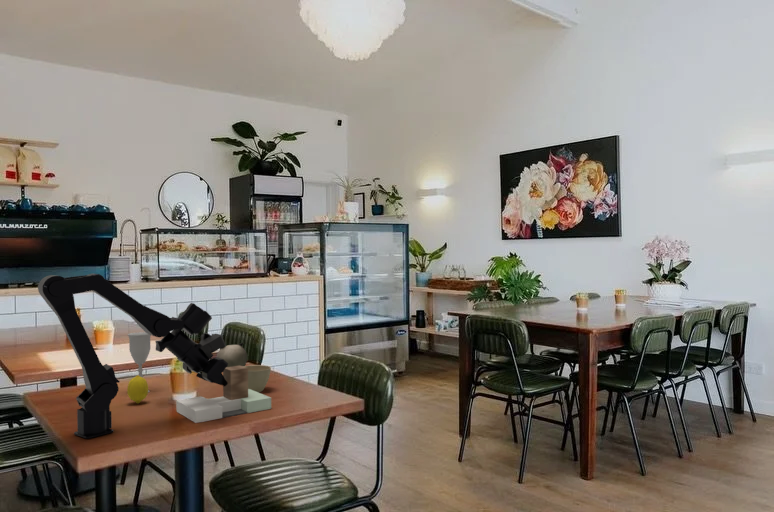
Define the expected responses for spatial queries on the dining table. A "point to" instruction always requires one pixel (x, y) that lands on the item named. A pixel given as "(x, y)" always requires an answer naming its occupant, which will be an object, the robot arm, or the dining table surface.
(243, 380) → the walnut block
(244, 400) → the board
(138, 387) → the lemon
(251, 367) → the flower pot
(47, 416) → the dining table surface
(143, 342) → the chalice
